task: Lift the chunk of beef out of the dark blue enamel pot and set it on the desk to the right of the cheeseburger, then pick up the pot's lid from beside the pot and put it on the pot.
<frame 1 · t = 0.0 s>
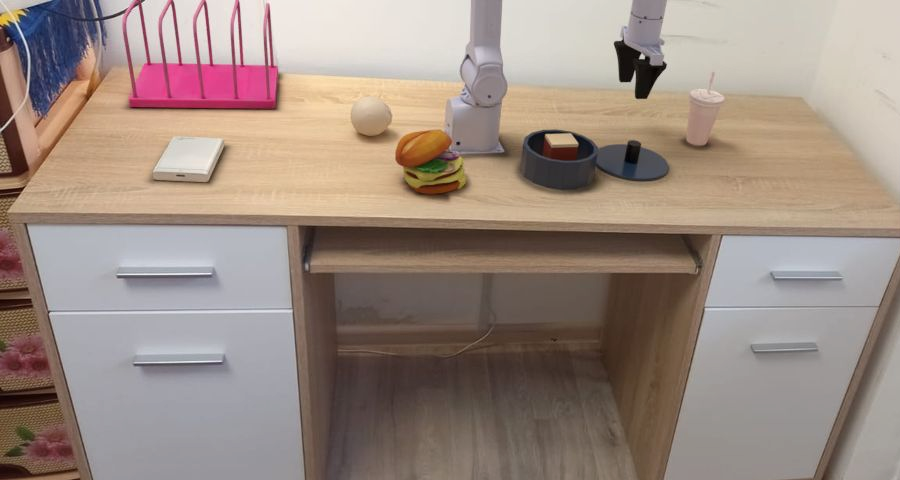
hand: (632, 89, 149), 10 cm above the table, tool pointing down, fingers open, 7 cm apart
cheeseburger: (429, 184, 134), on the table
pot: (556, 174, 141), on the table
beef: (556, 172, 141), resting on pot
cream ball: (371, 134, 148), on the table
file sorter: (208, 91, 157), on the table
hard drive: (190, 163, 133), on the table
smoothie: (695, 144, 157), on the table
pot lid: (630, 163, 146), point 1 cm above the table
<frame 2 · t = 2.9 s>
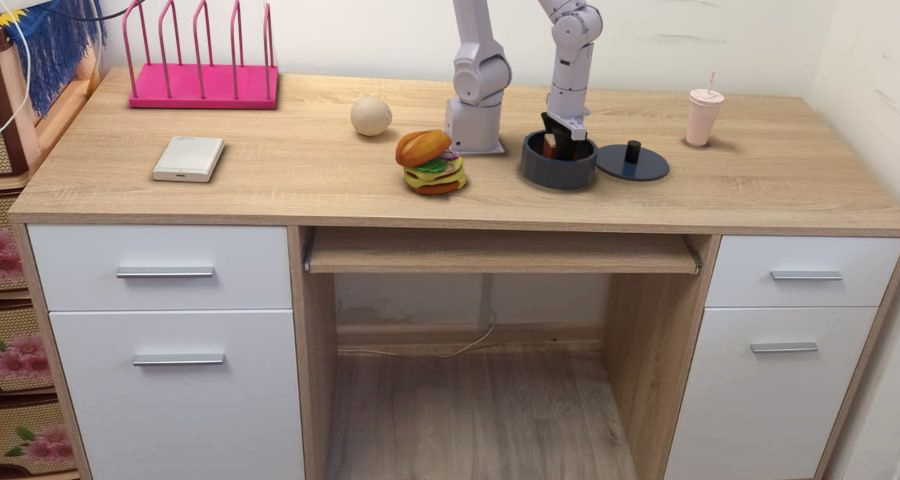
hand: (558, 161, 139), 3 cm above the table, tool pointing down, fingers closed on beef, 4 cm apart
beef: (556, 172, 141), point 1 cm above the table, touching gripper, pot
everything else where it was.
when the fingers open (2 cm above the table, at t = 7.6 s): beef stays where it is, on the table.
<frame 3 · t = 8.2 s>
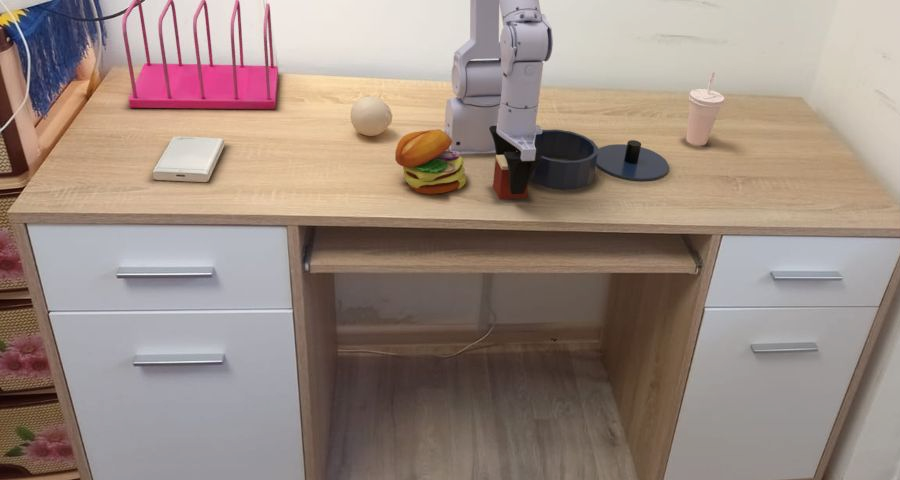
hand: (510, 181, 132), 2 cm above the table, tool pointing down, fingers open, 7 cm apart
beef: (509, 194, 134), on the table
everything else where it was.
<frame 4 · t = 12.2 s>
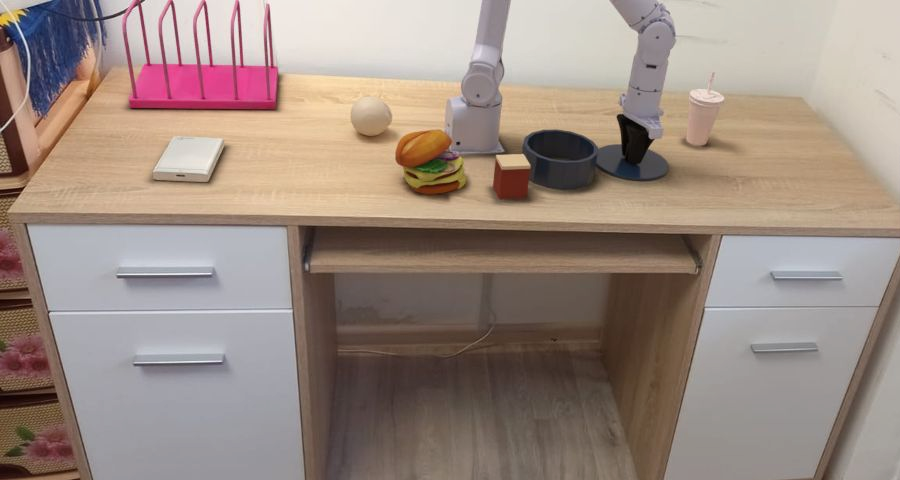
hand: (631, 159, 145), 1 cm above the table, tool pointing down, fingers closed on pot lid, 2 cm apart
pot lid: (630, 163, 146), point 1 cm above the table, touching gripper
everything else where it was.
when the fingers open (6 cm above the table, at t = 16.4 s): pot lid stays where it is, resting on pot.
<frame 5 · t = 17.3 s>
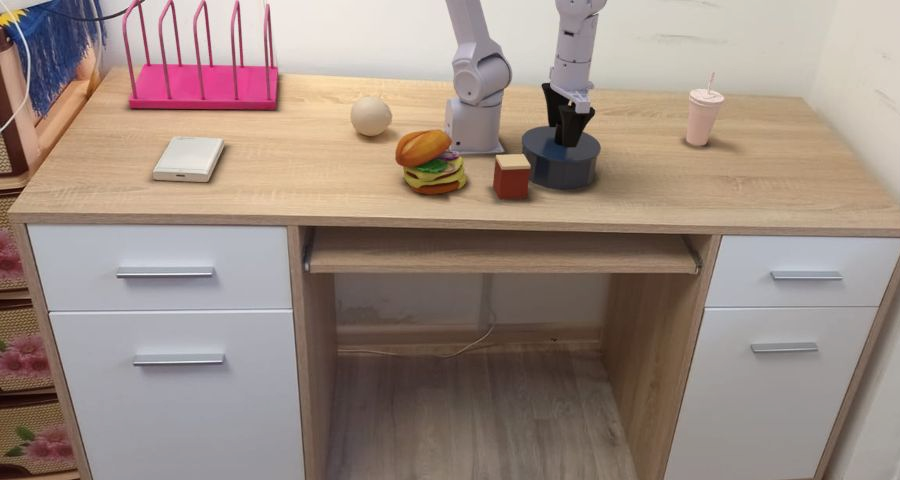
hand: (562, 136, 137), 7 cm above the table, tool pointing down, fingers open, 7 cm apart
pot lid: (560, 145, 138), point 5 cm above the table, touching pot
everything else where it was.
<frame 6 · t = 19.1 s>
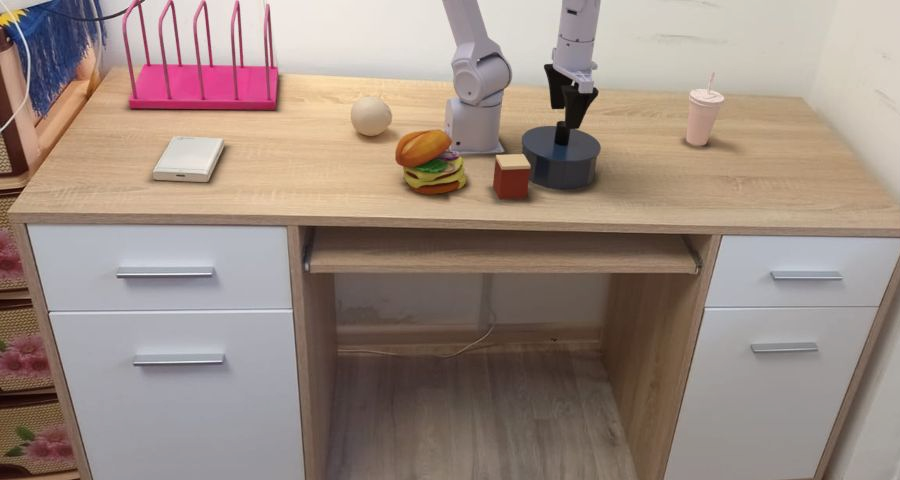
hand: (564, 118, 135), 10 cm above the table, tool pointing down, fingers open, 7 cm apart
nothing on the table moved.
at the end: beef 0.0 cm from the target spot, on the table; pot lid 0.0 cm off-centre on the pot, point 5.5 cm above the pot's base; pot lid tilted 0° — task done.
